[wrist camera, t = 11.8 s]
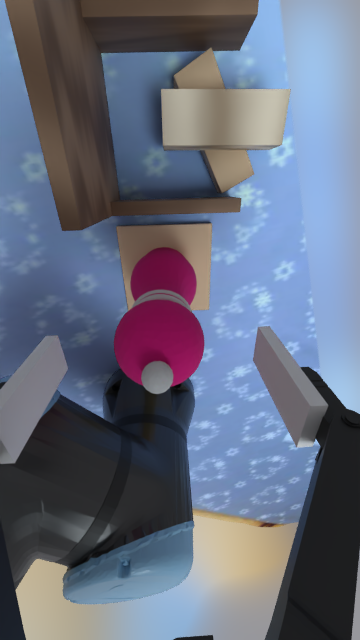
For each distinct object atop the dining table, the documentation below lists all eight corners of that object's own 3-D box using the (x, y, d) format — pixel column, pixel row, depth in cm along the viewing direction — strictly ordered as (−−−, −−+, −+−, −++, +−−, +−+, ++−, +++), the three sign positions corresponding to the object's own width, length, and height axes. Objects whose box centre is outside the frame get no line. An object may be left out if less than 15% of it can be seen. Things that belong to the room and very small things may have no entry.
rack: (228, 208, 27) (276, 224, 15) (111, 212, 27) (62, 230, 15) (240, 30, 21) (343, -201, 8) (84, 33, 20) (-46, -201, 8)
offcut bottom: (245, 175, 26) (254, 174, 24) (217, 193, 27) (222, 193, 24) (206, 64, 22) (211, 47, 19) (173, 88, 23) (173, 75, 20)
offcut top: (275, 101, 21) (290, 89, 18) (268, 149, 23) (281, 144, 20) (162, 101, 21) (160, 89, 18) (163, 150, 22) (162, 145, 20)
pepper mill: (139, 299, 32) (100, 436, 14) (132, 243, 28) (68, 333, 11) (193, 297, 32) (222, 430, 14) (193, 241, 28) (230, 325, 11)
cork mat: (208, 307, 33) (208, 309, 33) (129, 310, 33) (128, 312, 33) (211, 222, 28) (212, 223, 27) (117, 225, 28) (116, 226, 27)
